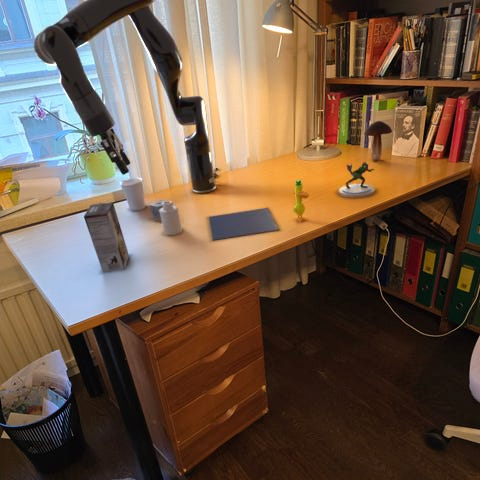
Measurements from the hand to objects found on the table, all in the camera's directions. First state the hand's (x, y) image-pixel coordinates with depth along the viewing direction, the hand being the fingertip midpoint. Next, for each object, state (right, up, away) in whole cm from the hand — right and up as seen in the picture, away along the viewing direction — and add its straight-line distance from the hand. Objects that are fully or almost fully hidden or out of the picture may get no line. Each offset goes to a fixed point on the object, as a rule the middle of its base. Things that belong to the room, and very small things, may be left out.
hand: (126, 168), depth 120 cm
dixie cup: (-6, -2, +36) cm, 36 cm away
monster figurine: (+74, 0, +23) cm, 77 cm away
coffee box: (-2, -28, -4) cm, 29 cm away
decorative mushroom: (+90, +23, +53) cm, 107 cm away
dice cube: (+6, -8, +24) cm, 26 cm away
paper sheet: (+34, -13, +11) cm, 38 cm away
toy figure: (+52, -13, +7) cm, 54 cm away
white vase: (+12, -16, +11) cm, 23 cm away
